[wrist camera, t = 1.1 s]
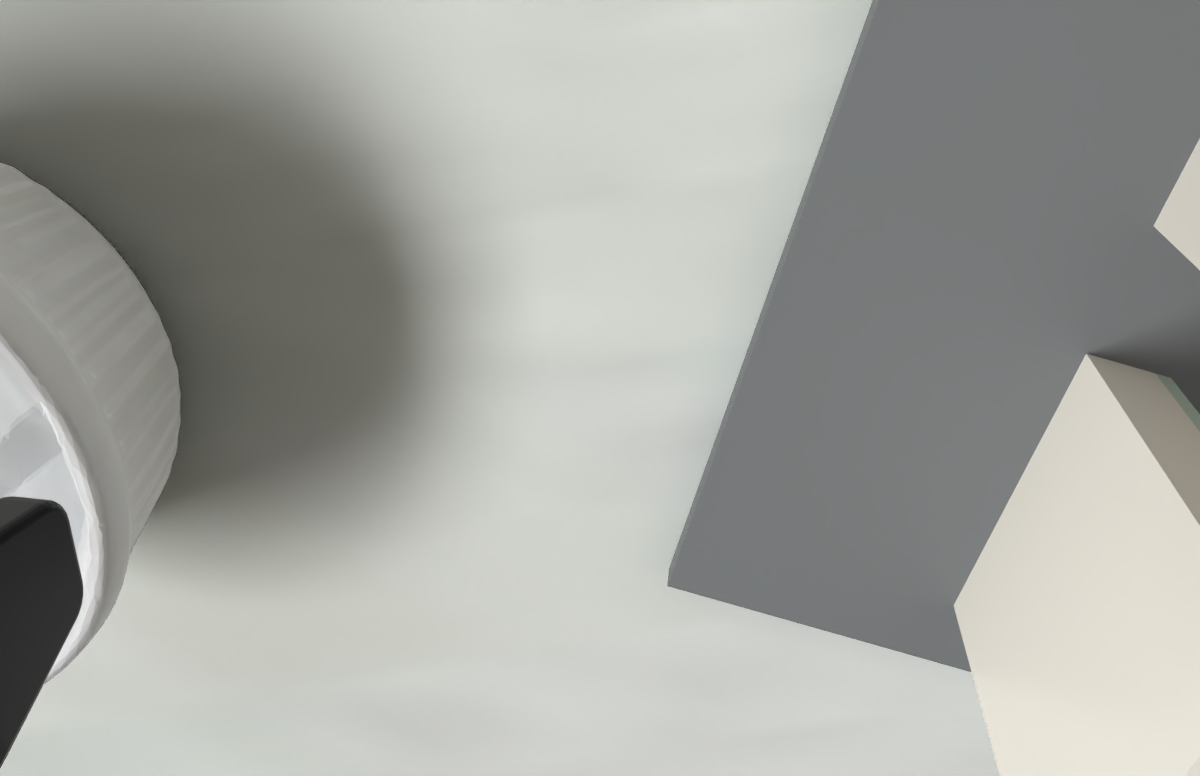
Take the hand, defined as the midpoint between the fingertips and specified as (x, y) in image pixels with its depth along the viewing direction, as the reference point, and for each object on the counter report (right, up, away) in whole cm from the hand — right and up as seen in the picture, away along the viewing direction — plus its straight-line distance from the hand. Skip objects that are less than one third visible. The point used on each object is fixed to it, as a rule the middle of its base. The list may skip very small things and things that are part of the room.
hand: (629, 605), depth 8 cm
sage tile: (+9, -1, +13) cm, 15 cm away
